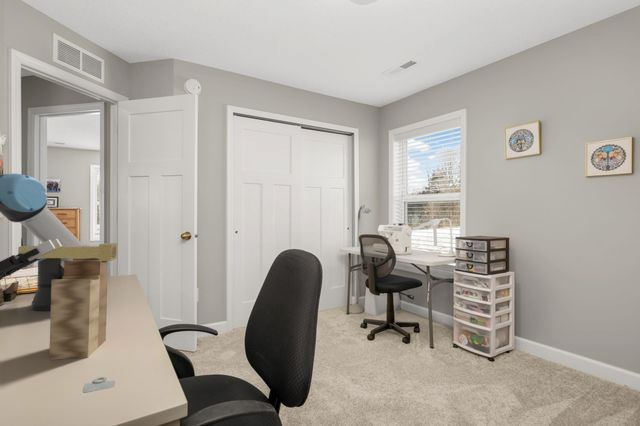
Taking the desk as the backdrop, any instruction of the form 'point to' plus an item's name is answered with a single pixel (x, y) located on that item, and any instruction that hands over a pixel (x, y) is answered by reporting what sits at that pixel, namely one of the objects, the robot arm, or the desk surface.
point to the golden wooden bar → (80, 252)
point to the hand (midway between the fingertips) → (55, 243)
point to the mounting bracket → (98, 385)
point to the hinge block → (78, 309)
